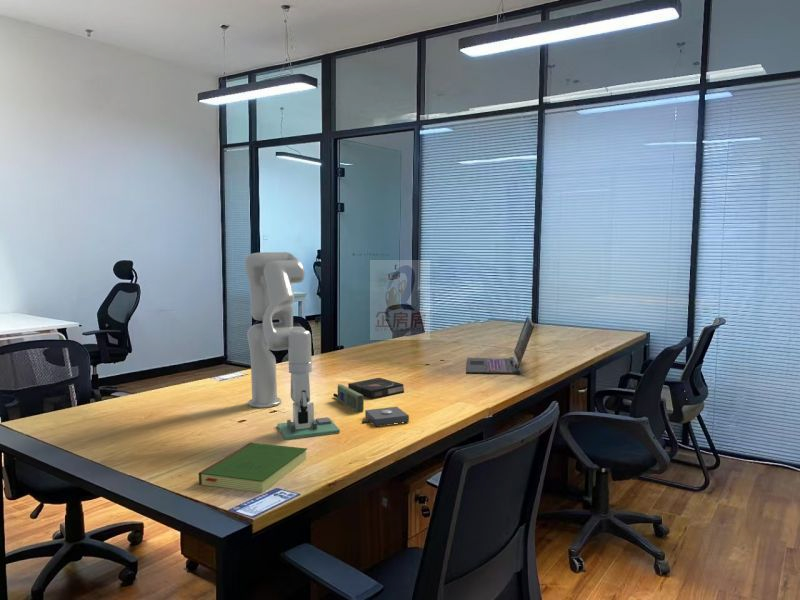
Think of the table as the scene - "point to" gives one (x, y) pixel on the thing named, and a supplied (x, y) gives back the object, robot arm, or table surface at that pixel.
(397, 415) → the gray dome slab
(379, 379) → the portable cd player
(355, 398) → the handheld radio
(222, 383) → the table surface
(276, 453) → the hardcover book
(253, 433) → the table surface
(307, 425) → the plug
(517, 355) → the laptop
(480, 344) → the table surface
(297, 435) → the board
